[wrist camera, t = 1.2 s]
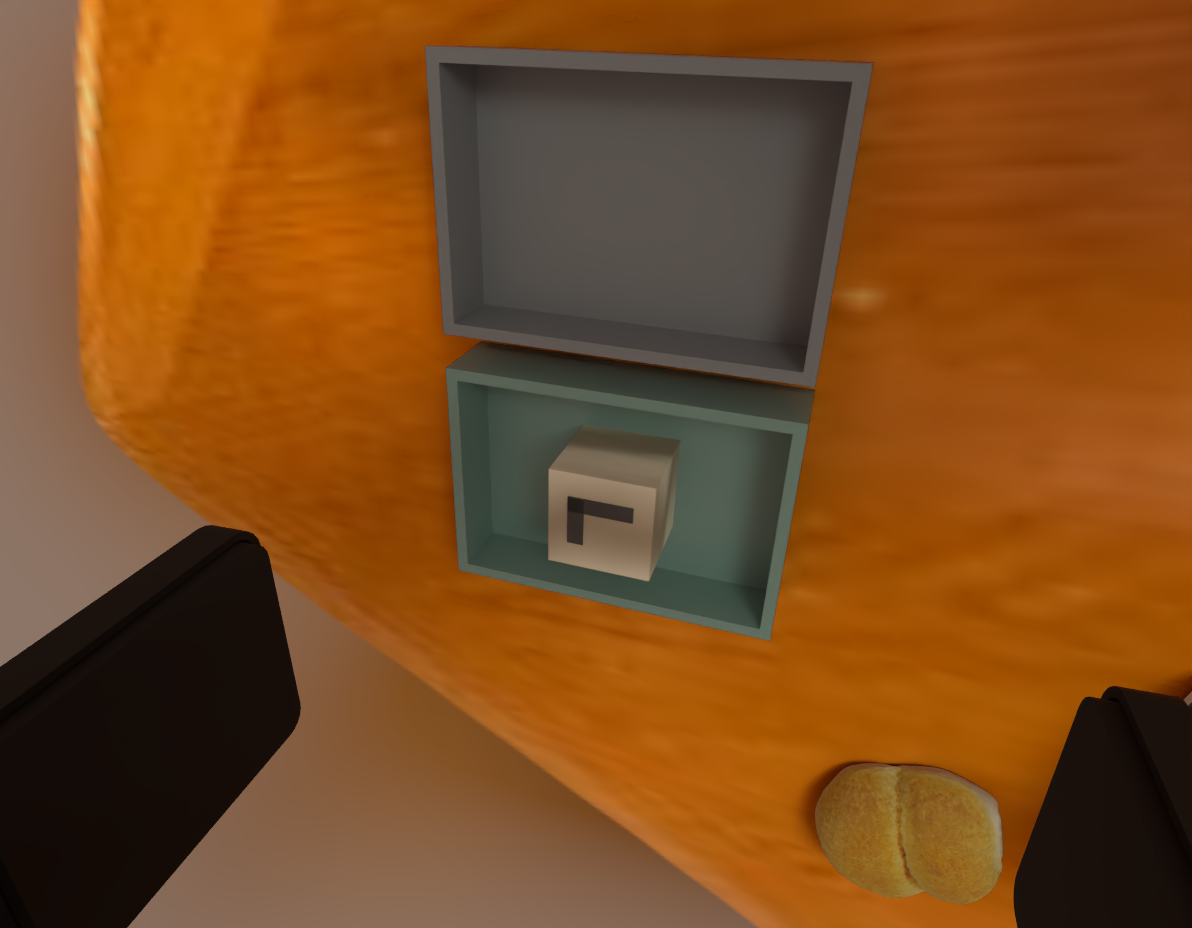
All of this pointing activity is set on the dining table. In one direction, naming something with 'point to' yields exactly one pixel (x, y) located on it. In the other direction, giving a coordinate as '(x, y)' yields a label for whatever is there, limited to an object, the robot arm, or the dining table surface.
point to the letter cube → (612, 501)
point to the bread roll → (911, 832)
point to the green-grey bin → (641, 405)
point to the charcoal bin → (644, 202)
